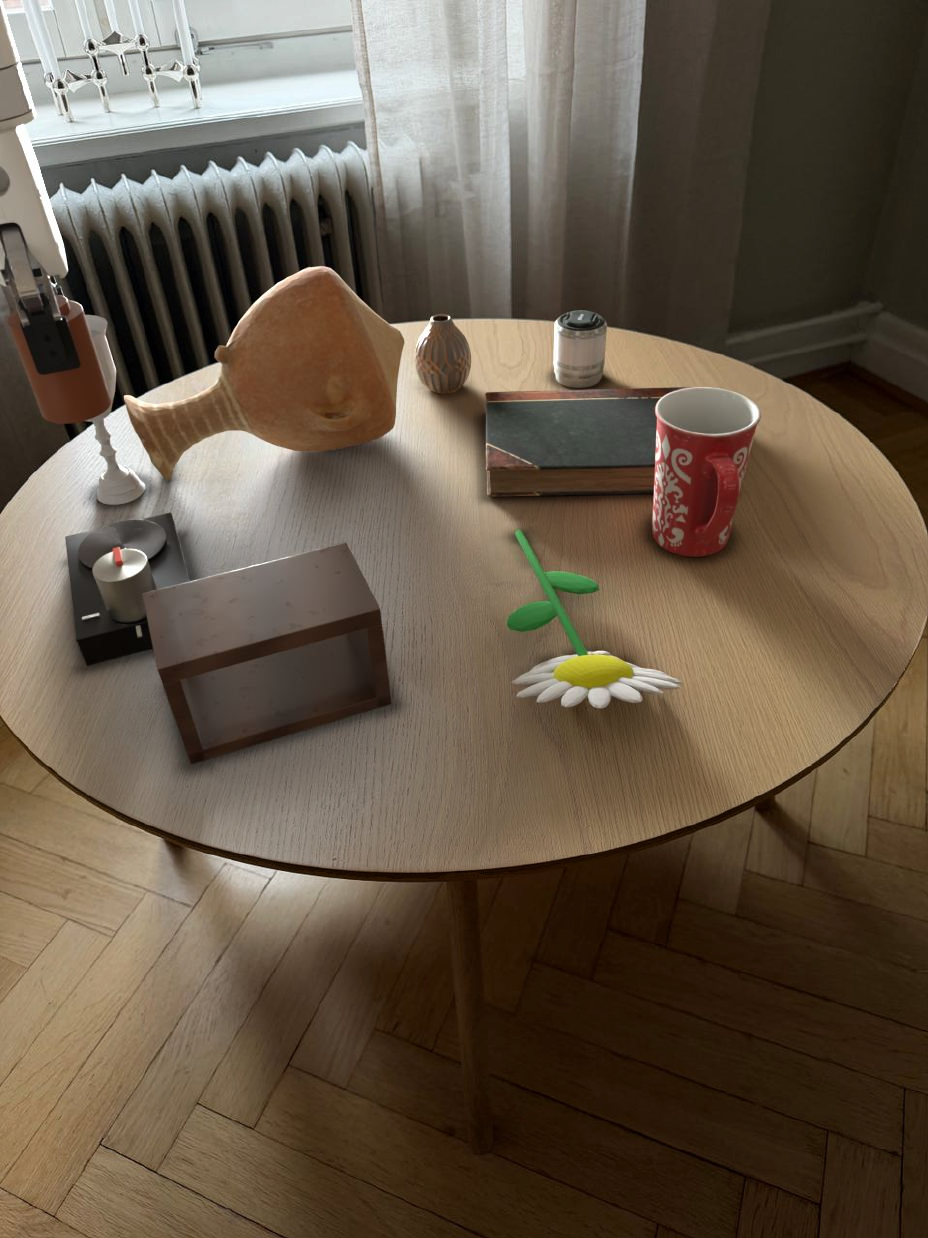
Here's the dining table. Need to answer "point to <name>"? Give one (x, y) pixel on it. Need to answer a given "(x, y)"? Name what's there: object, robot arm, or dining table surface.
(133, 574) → the stove knob
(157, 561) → the stove
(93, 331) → the chalice
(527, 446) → the book
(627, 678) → the decorative flower
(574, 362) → the camera lens
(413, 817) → the dining table surface
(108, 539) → the burner
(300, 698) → the shelf
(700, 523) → the mug
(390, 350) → the jug
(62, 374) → the bottle
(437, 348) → the vase
